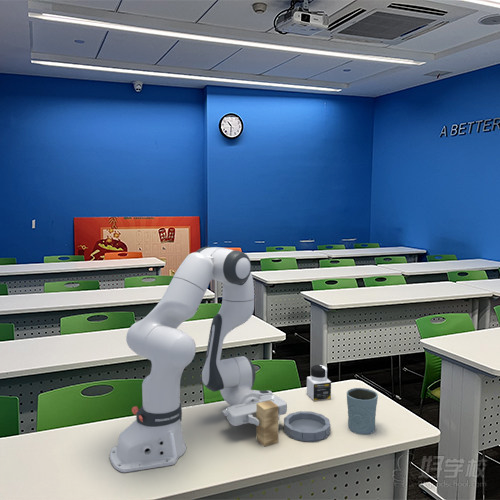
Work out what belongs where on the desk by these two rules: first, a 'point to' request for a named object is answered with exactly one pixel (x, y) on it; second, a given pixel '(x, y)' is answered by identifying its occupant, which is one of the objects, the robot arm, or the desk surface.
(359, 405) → the blue-grey cup
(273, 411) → the oak block
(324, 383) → the medicine bottle
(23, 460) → the desk surface
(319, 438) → the bowl
